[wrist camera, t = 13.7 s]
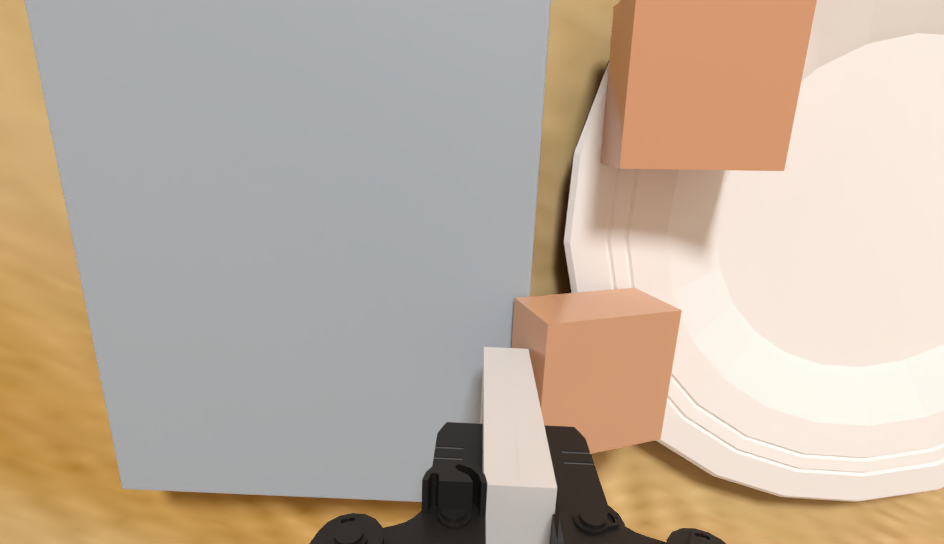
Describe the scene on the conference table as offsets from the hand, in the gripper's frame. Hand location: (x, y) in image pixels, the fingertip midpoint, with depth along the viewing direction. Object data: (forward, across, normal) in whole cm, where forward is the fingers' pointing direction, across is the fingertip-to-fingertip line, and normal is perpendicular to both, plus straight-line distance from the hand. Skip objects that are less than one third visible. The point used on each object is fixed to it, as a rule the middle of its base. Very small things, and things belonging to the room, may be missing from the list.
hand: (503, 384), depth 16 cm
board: (+5, -7, +6) cm, 10 cm away
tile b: (+2, +3, 0) cm, 3 cm away
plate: (+5, +15, +6) cm, 16 cm away
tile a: (+3, +6, +10) cm, 12 cm away
